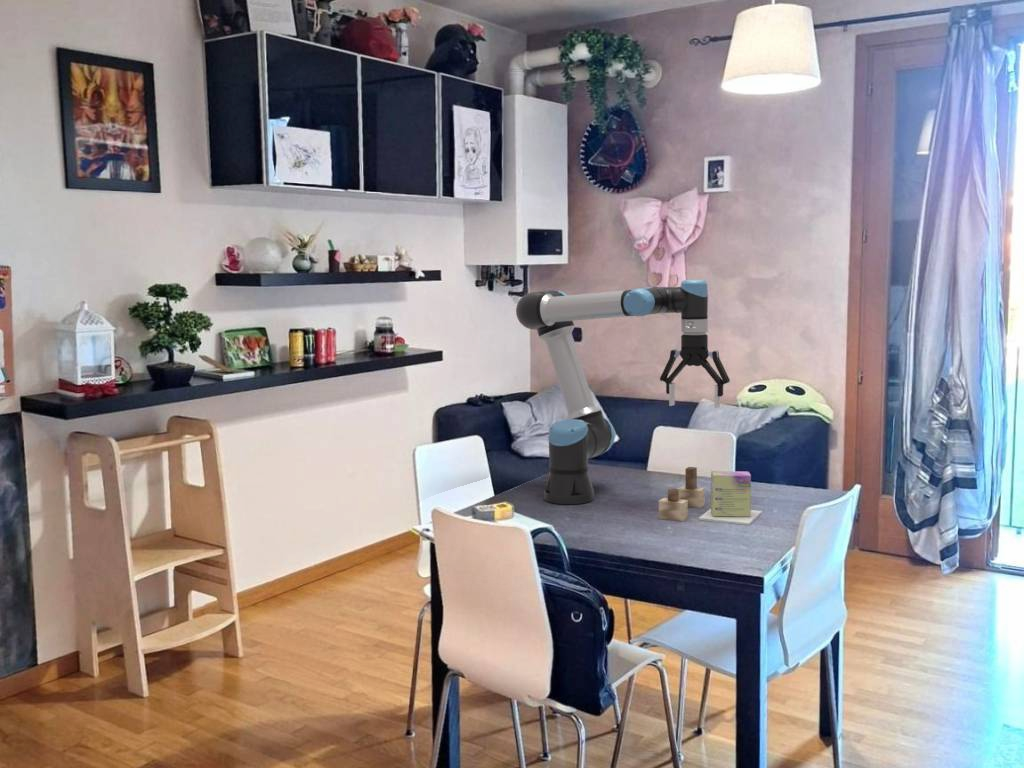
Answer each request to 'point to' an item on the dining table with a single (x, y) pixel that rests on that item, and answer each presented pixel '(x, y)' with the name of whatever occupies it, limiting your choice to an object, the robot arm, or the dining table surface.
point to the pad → (731, 518)
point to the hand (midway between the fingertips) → (694, 406)
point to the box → (731, 493)
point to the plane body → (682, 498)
